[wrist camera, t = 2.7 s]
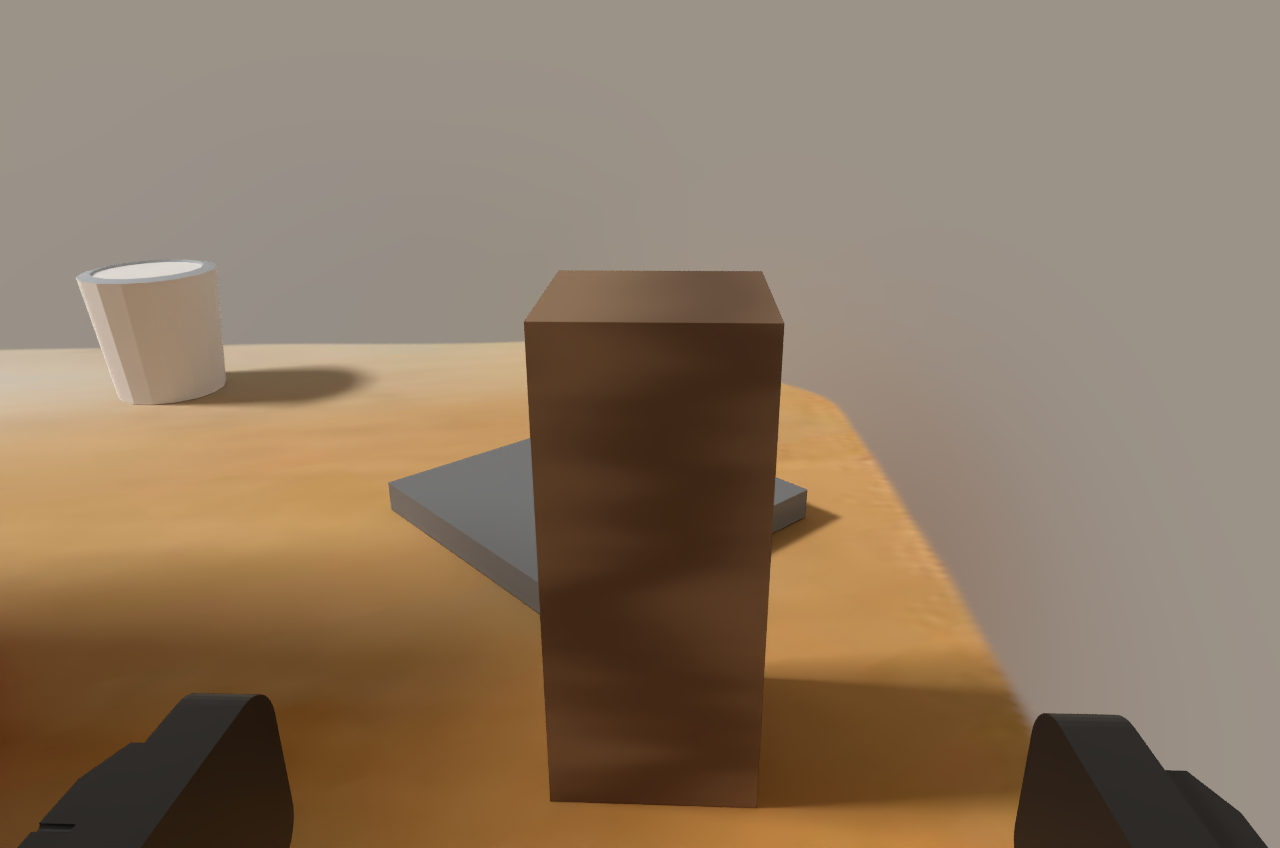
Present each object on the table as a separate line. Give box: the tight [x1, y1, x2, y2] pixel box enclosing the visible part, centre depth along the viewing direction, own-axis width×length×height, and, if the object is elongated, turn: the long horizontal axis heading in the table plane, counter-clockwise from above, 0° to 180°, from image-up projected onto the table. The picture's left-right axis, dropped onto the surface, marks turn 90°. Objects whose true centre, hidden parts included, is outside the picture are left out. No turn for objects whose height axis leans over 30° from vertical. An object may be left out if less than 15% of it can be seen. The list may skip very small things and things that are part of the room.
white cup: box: [76, 260, 226, 405], centre depth 49 cm, size 7×7×7 cm
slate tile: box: [388, 438, 807, 614], centre depth 35 cm, size 12×12×1 cm
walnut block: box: [524, 271, 784, 808], centre depth 21 cm, size 5×5×12 cm
